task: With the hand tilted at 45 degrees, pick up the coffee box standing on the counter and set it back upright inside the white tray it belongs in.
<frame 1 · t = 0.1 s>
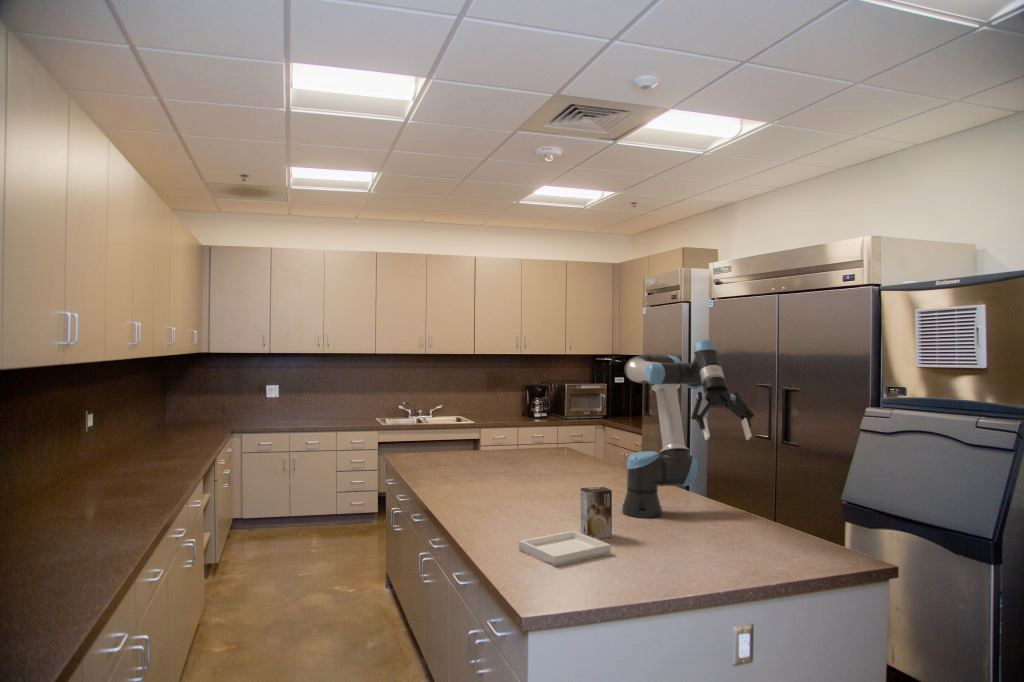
hand: (728, 438, 208), 36 cm above the counter, tool tilted 35°, fingers open, 13 cm apart
coffee box: (595, 536, 222), on the counter
white tray: (564, 552, 205), on the counter
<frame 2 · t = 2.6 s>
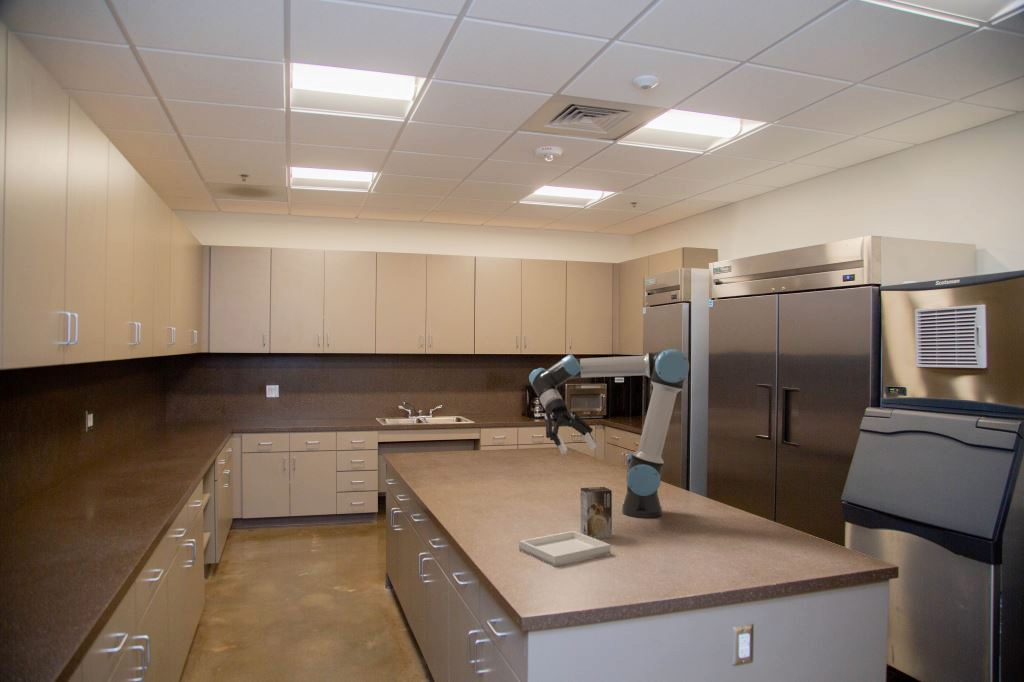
hand: (580, 450, 230), 28 cm above the counter, tool tilted 45°, fingers open, 13 cm apart
nothing on the counter moved.
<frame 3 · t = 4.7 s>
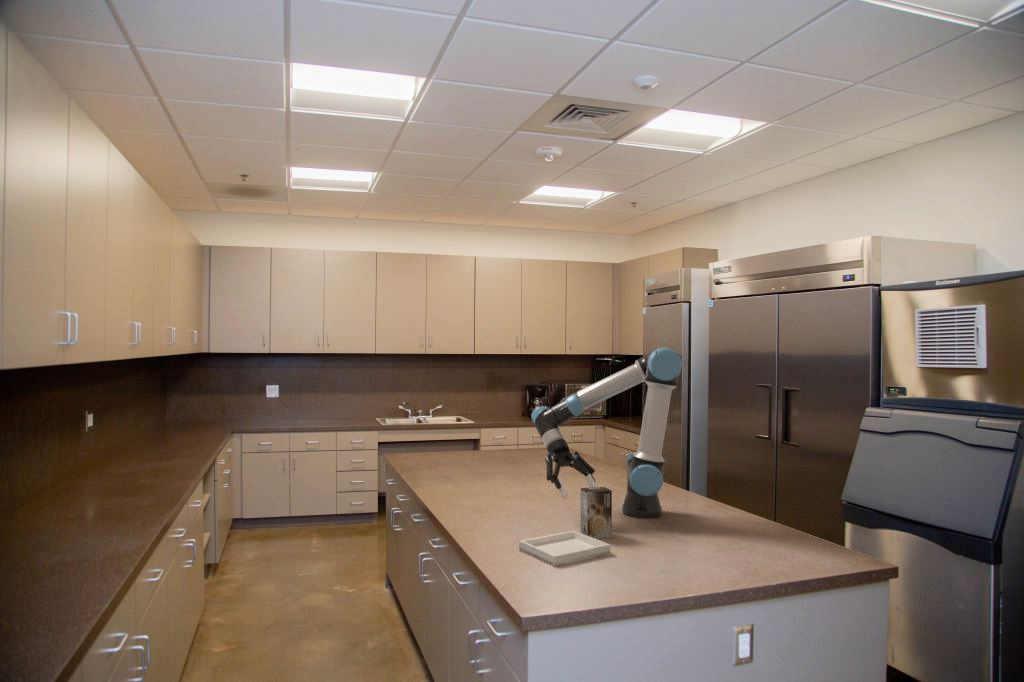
hand: (581, 493, 227), 13 cm above the counter, tool tilted 45°, fingers open, 13 cm apart
nothing on the counter moved.
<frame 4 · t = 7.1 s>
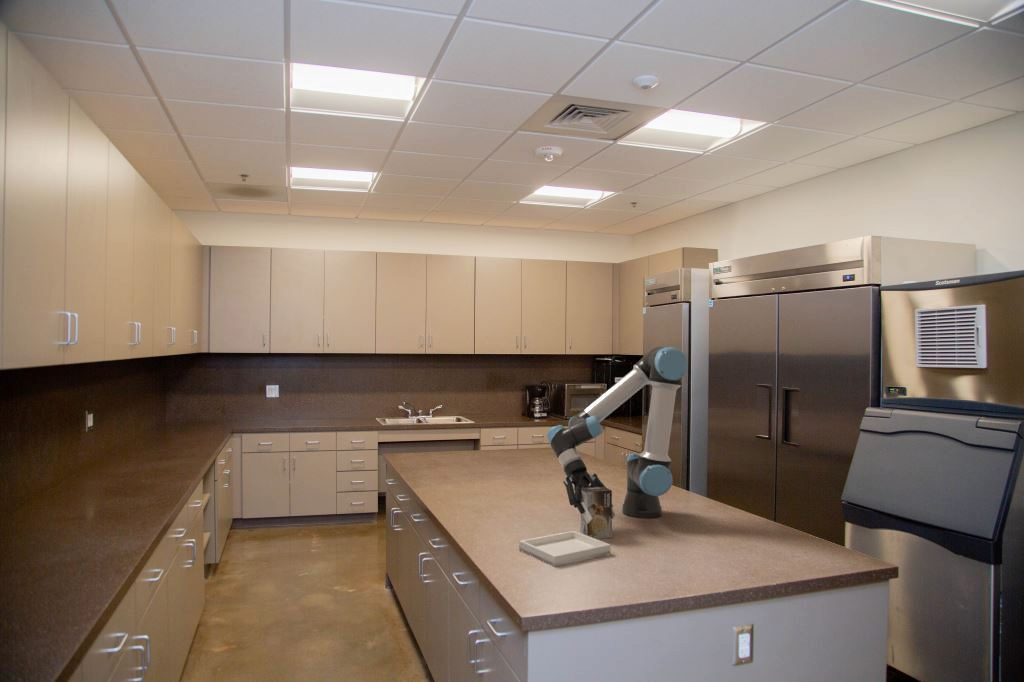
hand: (601, 519, 220), 7 cm above the counter, tool tilted 45°, fingers closed on coffee box, 10 cm apart
coffee box: (595, 536, 222), on the counter, touching gripper
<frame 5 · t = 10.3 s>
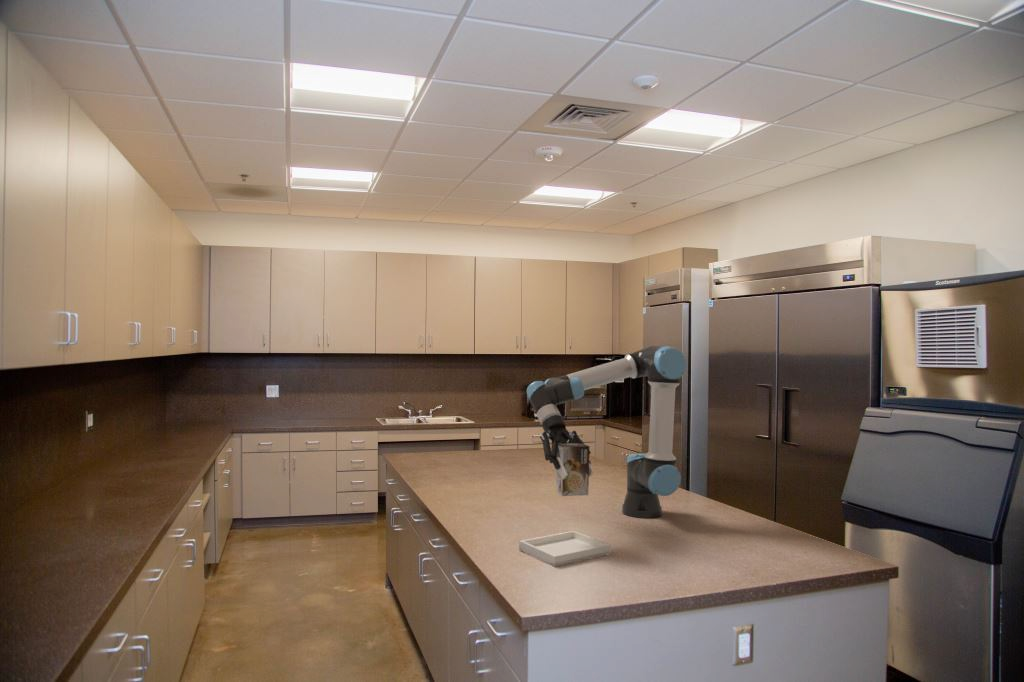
hand: (578, 475, 211), 23 cm above the counter, tool tilted 45°, fingers closed on coffee box, 10 cm apart
coffee box: (571, 494, 214), point 16 cm above the counter, touching gripper
when the fingers open (9 cm above the counter, at t = 13.7 s): coffee box drops 1 cm, resting on white tray.
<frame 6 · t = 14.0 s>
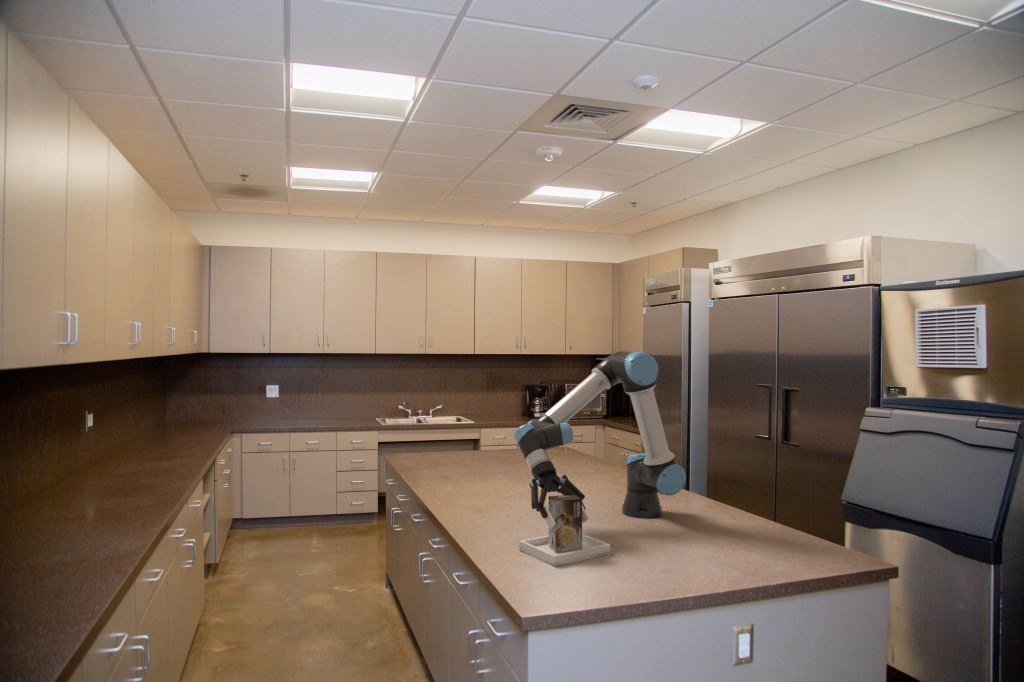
hand: (569, 523, 203), 10 cm above the counter, tool tilted 45°, fingers open, 13 cm apart
coffee box: (565, 549, 205), point 1 cm above the counter, touching white tray
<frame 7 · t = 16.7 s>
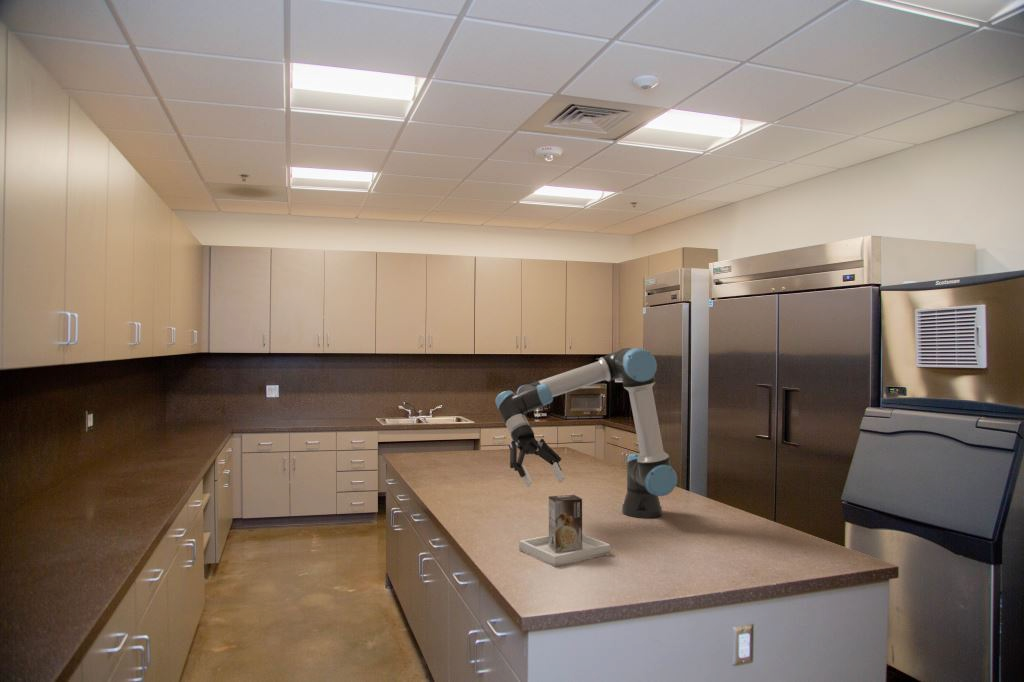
hand: (546, 482, 214), 20 cm above the counter, tool tilted 45°, fingers open, 13 cm apart
nothing on the counter moved.
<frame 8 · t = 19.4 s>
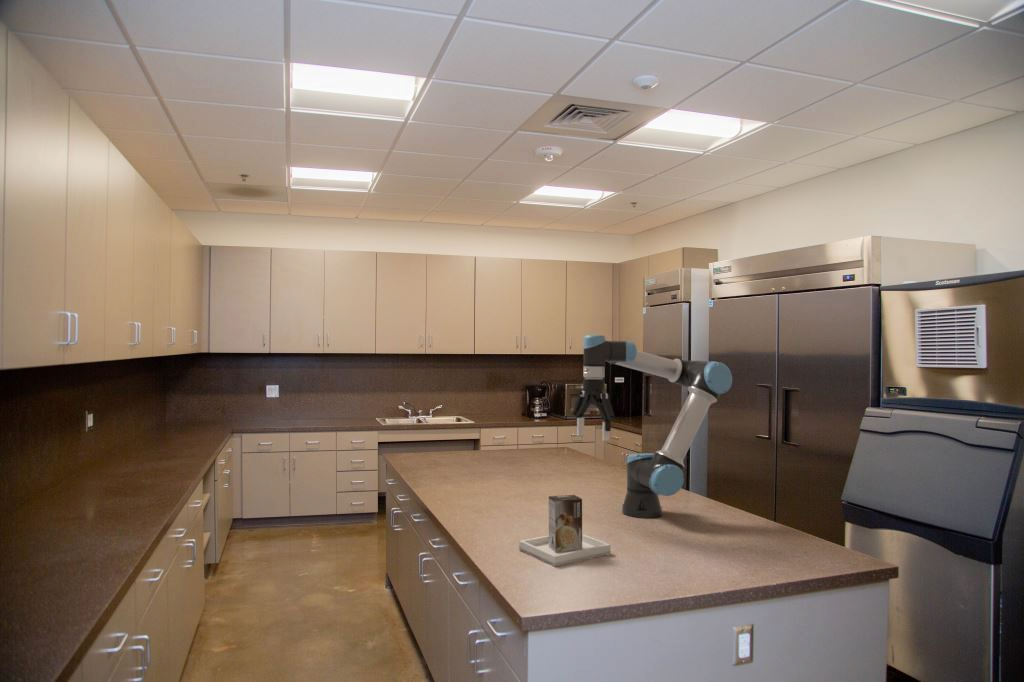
hand: (592, 438, 233), 32 cm above the counter, tool pointing down, fingers open, 13 cm apart
nothing on the counter moved.
at the end: coffee box inside the target area on the white tray (0.4 cm from its centre), point 0.8 cm above the white tray's base; coffee box tilted 0°; the gripper is holding nothing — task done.
